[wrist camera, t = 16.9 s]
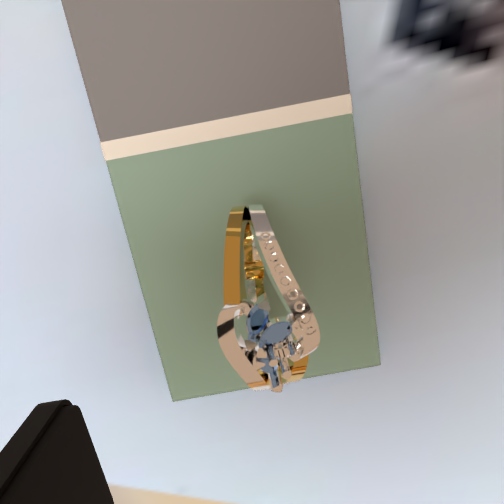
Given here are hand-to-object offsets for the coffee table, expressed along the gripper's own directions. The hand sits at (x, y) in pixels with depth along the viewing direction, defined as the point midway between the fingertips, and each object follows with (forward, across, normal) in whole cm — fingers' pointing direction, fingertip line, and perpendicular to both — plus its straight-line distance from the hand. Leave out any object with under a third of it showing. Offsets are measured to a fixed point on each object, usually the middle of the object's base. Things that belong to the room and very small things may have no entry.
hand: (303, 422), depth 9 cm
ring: (+12, +1, 0) cm, 12 cm away
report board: (+12, +1, -6) cm, 14 cm away
